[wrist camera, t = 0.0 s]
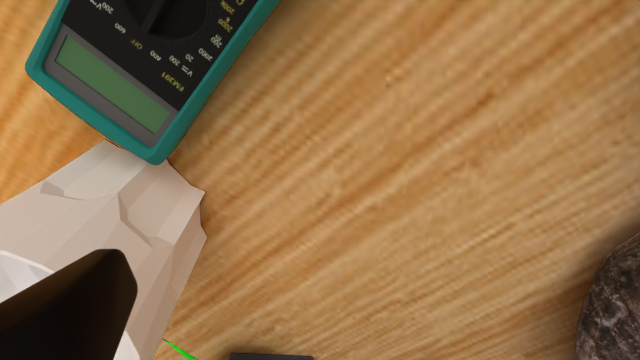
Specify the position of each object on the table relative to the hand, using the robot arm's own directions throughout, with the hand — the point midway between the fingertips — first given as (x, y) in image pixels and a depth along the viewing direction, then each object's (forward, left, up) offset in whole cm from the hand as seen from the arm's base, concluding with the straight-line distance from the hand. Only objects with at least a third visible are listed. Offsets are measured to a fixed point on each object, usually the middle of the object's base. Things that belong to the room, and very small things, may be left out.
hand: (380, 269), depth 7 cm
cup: (-8, +15, -15) cm, 23 cm away
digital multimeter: (+3, +9, -15) cm, 18 cm away
